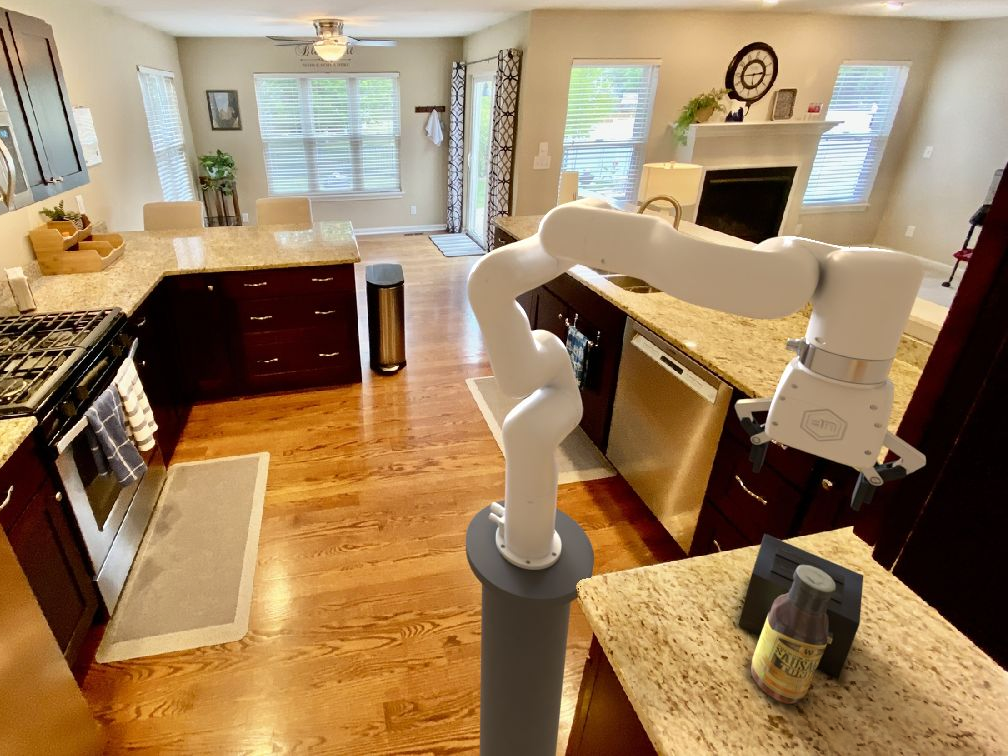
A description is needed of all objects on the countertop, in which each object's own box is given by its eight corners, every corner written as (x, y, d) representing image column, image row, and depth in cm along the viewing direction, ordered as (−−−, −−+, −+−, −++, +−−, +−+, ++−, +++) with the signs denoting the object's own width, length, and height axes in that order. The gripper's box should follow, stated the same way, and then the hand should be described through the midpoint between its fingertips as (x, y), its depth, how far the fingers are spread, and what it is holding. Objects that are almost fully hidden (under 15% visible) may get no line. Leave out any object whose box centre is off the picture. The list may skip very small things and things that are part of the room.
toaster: (736, 631, 75) (750, 577, 71) (751, 583, 82) (764, 532, 79) (837, 687, 67) (859, 629, 63) (843, 628, 75) (863, 574, 71)
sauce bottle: (760, 701, 66) (793, 593, 59) (742, 655, 71) (770, 552, 65) (816, 713, 64) (857, 604, 57) (793, 665, 70) (828, 561, 63)
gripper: (744, 349, 57) (716, 468, 63) (960, 401, 46) (900, 540, 52) (757, 330, 62) (730, 442, 68) (954, 372, 51) (901, 502, 57)
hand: (803, 484), depth 60 cm, fingers open, 9 cm apart
